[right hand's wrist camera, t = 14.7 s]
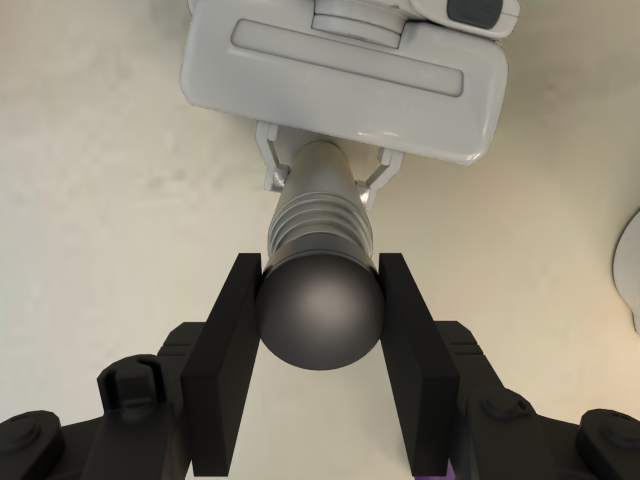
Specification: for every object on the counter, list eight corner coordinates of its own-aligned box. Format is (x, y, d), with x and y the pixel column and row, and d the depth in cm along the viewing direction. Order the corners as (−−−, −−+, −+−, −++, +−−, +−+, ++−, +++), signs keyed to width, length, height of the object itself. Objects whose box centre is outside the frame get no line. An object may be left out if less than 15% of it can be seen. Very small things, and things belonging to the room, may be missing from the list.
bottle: (300, 203, 36) (271, 383, 15) (284, 149, 35) (224, 260, 13) (354, 189, 36) (407, 353, 14) (341, 134, 34) (377, 221, 12)
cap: (288, 354, 16) (284, 386, 14) (240, 258, 14) (230, 281, 13) (395, 318, 15) (404, 347, 14) (355, 215, 14) (360, 233, 12)
